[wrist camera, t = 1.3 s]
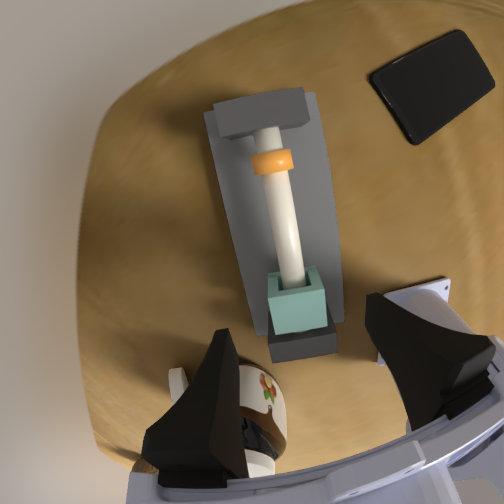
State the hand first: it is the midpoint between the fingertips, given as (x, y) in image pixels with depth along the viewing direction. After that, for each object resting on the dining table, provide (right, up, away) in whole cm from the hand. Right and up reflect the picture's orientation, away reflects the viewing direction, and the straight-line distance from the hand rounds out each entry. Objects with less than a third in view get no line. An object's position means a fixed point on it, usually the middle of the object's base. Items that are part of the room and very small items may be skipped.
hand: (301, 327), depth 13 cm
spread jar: (-5, -11, +15) cm, 20 cm away
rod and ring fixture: (0, +6, +8) cm, 10 cm away
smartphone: (+14, +19, +3) cm, 24 cm away
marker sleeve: (+1, +1, +8) cm, 8 cm away
